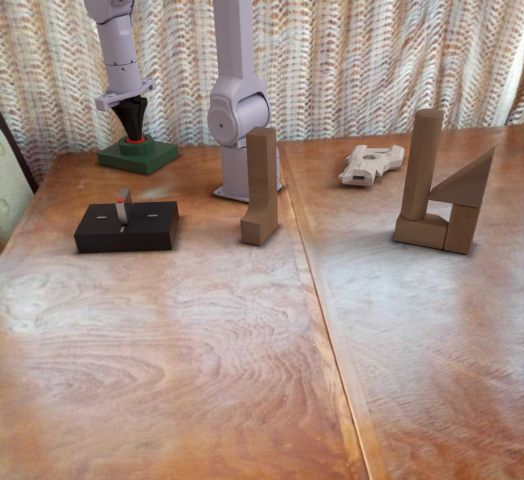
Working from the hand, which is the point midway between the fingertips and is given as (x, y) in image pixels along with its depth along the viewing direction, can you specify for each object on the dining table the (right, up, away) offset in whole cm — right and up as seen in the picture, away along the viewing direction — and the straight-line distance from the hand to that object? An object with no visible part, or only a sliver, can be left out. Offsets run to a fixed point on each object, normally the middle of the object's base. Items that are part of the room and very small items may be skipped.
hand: (135, 139), depth 103 cm
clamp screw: (+4, -20, -22) cm, 30 cm away
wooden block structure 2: (+49, -25, -24) cm, 60 cm away
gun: (+44, -8, -5) cm, 45 cm away
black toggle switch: (+4, -23, -20) cm, 30 cm away
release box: (0, -3, +3) cm, 4 cm away
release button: (0, -1, +1) cm, 2 cm away
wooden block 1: (+24, -23, -21) cm, 39 cm away
